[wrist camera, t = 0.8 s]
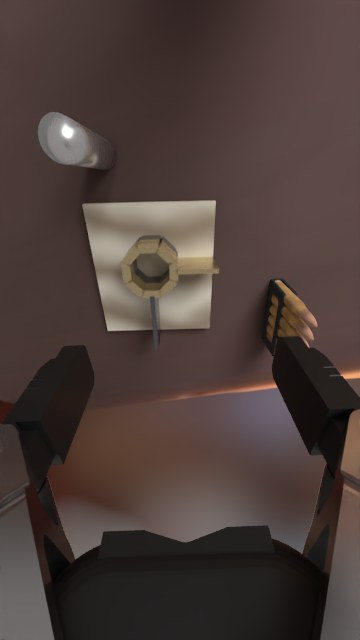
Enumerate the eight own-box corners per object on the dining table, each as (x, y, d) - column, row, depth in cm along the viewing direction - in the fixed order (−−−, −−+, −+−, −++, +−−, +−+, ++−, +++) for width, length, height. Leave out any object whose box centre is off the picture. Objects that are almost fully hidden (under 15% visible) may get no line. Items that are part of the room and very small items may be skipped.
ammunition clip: (270, 278, 36) (309, 319, 25) (283, 278, 36) (327, 318, 25) (261, 338, 41) (291, 392, 31) (272, 338, 41) (305, 391, 31)
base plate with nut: (86, 203, 30) (65, 208, 25) (213, 200, 30) (222, 204, 25) (109, 325, 39) (99, 350, 34) (208, 323, 39) (214, 347, 34)
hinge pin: (86, 138, 27) (32, 112, 17) (113, 137, 27) (75, 111, 17) (92, 169, 28) (45, 164, 18) (117, 169, 28) (85, 163, 18)
